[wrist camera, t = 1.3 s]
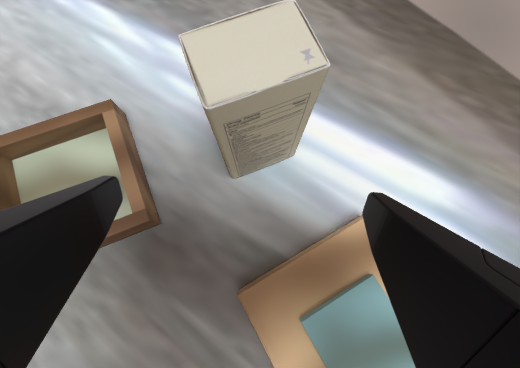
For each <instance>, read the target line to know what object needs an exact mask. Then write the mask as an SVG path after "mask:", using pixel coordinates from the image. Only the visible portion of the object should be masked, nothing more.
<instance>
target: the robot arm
mask: <svg viewBox="0 0 520 368" xmlns="http://www.w3.org/2000/svg"><path fill="white" fill-rule="evenodd" d="M122 201H123V195H122V191H121V187H120V183H119V180H118V178H117V177H116V176H107V175H104V176H101V177H98V178H95V179H92V180H89V181H86V182H83V183H80V184H77V185H74V186H72V187H69V188H66V189H63V190H60V191H57V192H54V193H51V194H48V195H45V196H42V197H40V198H37V199H34V200H31V201H28V202H25V203H22V204H19V205H16V206H13V207H10V208H8V209H5V210H2V211H0V368H26V367H27V366H28V364H29V362H30V361H31V359H32V357H33V356H34V354H35V352H36V351H37V349H38V348H39V346H40V344H41V343H42V341H43V339H44V338H45V336H46V334H47V333H48V331H49V330H50V328H51V326H52V325H53V323H54V321H55V320H56V318H57V316H58V315H59V313H60V312H61V310H62V308H63V307H64V305H65V303H66V302H67V300H68V298H69V297H70V295H71V294H72V292H73V290H74V289H75V287H76V285H77V284H78V282H79V280H80V279H81V277H82V276H83V274H84V272H85V271H86V269H87V267H88V266H89V264H90V262H91V261H92V259H93V258H94V256H95V254H96V253H97V251H98V249H99V248H100V246H101V244H102V243H103V241H104V239H105V238H106V236H107V234H108V232H109V230H110V227H111V225H112V223H113V221H114V219H115V217H116V214H117V212H118V210H119V208H120V206H121V204H122ZM363 220H364V224H365V228H366V232H367V236H368V240H369V244H370V248H371V252H372V255H373V257H374V260H375V263H376V265H377V268H378V271H379V273H380V276H381V279H382V281H383V284H384V286H385V289H386V292H387V294H388V297H389V299H390V302H391V305H392V307H393V310H394V313H395V315H396V318H397V320H398V323H399V326H400V328H401V331H402V334H403V336H404V339H405V341H406V344H407V347H408V349H409V352H410V355H411V357H412V360H413V362H414V365H415V368H520V268H518V267H516V266H514V265H512V264H511V263H509V262H507V261H505V260H503V259H501V258H499V257H498V256H496V255H494V254H492V253H490V252H488V251H487V250H485V249H481V248H480V247H479V246H477V245H476V244H474V243H472V242H470V241H468V240H467V239H465V238H463V237H461V236H459V235H457V234H456V233H454V232H452V231H450V230H448V229H447V228H445V227H443V226H441V225H439V224H438V223H436V222H434V221H432V220H430V219H428V218H427V217H425V216H423V215H421V214H419V213H418V212H416V211H414V210H412V209H410V208H408V207H407V206H405V205H403V204H401V203H399V202H398V201H396V200H394V199H392V198H390V197H389V196H387V195H385V194H383V193H376V192H371V193H370V194H369V195H368V197H367V200H366V203H365V206H364V209H363Z"/></svg>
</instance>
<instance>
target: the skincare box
mask: <svg viewBox="0 0 520 368" xmlns="http://www.w3.org/2000/svg"><path fill="white" fill-rule="evenodd" d="M179 41H180V44H181V47H182V50H183V53H184V56H185V59H186V62H187V65H188V68H189V71H190V74H191V77H192V80H193V82H194V85H195V88H196V90H197V93H198V96H199V98H200V101H201V103H202V106H203V108H204V110H205V113H206V115H207V118H208V120H209V123H210V125H211V128H212V130H213V133H214V135H215V138H216V140H217V143H218V145H219V148H220V150H221V153H222V155H223V158H224V161H225V163H226V165H227V168H228V170H229V173H230V175H231V177H232V178H238V177H240V176H243V175H246V174H249V173H252V172H254V171H257V170H260V169H262V168H265V167H267V166H270V165H272V164H275V163H277V162H280V161H282V160H284V159H287V158H289V157H292V156H293V155H294V154H295V152H296V149H297V147H298V144H299V142H300V139H301V137H302V134H303V132H304V129H305V127H306V124H307V122H308V119H309V117H310V114H311V112H312V109H313V107H314V104H315V102H316V99H317V97H318V94H319V92H320V89H321V87H322V85H323V82H324V80H325V77H326V75H327V72H328V70H329V67H330V62H329V60H328V59H327V57H326V55H325V53H324V51H323V49H322V47H321V45H320V43H319V41H318V39H317V37H316V36H315V34H314V32H313V30H312V28H311V26H310V24H309V23H308V21H307V19H306V17H305V15H304V14H303V12H302V10H301V9H300V8H299V6H298V4H297V2H296V1H295V0H284V1H280V2H277V3H273V4H269V5H266V6H263V7H260V8H256V9H253V10H250V11H247V12H244V13H241V14H238V15H235V16H232V17H229V18H226V19H223V20H220V21H217V22H214V23H211V24H208V25H205V26H202V27H199V28H197V29H194V30H191V31H188V32H185V33H182V34H180V35H179Z"/></svg>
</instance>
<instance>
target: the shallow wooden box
mask: <svg viewBox="0 0 520 368" xmlns="http://www.w3.org/2000/svg"><path fill="white" fill-rule="evenodd" d="M237 296H238V298H239V300H240V302H241V304H242V305H243V307H244V309H245V311H246V313H247V315H248V317H249V319H250V321H251V323H252V325H253V327H254V329H255V331H256V333H257V335H258V337H259V339H260V341H261V343H262V344H263V346H264V348H265V350H266V352H267V354H268V356H269V358H270V360H271V362H272V364H273V366H274V368H415V365H414V362H413V360H412V357H411V355H410V352H409V349H408V347H407V344H406V341H405V339H404V336H403V334H402V331H401V328H400V326H399V323H398V320H397V318H396V315H395V313H394V310H393V307H392V305H391V302H390V299H389V297H388V294H387V292H386V289H385V286H384V284H383V281H382V279H381V276H380V273H379V271H378V268H377V265H376V263H375V260H374V257H373V255H372V252H371V248H370V244H369V240H368V236H367V232H366V228H365V224H364V220H363V215H362V216H359V217H358V218H356V219H355V220H353V221H351V222H350V223H348V224H346V225H345V226H343V227H341V228H340V229H338V230H336V231H335V232H333V233H332V234H330V235H328V236H327V237H325V238H323V239H322V240H320V241H318V242H317V243H315V244H313V245H312V246H310V247H308V248H307V249H305V250H304V251H302V252H300V253H299V254H297V255H295V256H294V257H292V258H290V259H289V260H287V261H285V262H284V263H282V264H281V265H279V266H277V267H276V268H274V269H272V270H271V271H269V272H267V273H266V274H264V275H262V276H261V277H259V278H258V279H256V280H254V281H253V282H251V283H249V284H248V285H246V286H244V287H243V288H241V289H239V292H238V295H237Z"/></svg>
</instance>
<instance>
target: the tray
mask: <svg viewBox="0 0 520 368" xmlns="http://www.w3.org/2000/svg"><path fill="white" fill-rule="evenodd" d="M104 175H107V176H116V177H117V178H118V180H119V183H120V187H121V191H122V195H123V201H122V204H121V206H120V208H119V210H118V212H117V214H116V217H115V219H114V221H113V223H112V225H111V227H110V230H109V232H108V234H107V236H106V238H105V239H104V241H103V243H102V244H101V246H100V248H101V247H104V246H106V245H109V244H111V243H114V242H116V241H119V240H121V239H124V238H126V237H129V236H131V235H134V234H136V233H139V232H141V231H144V230H146V229H149V228H151V227H154V226H156V225H159V224H161V222H160V219H159V216H158V213H157V210H156V207H155V204H154V201H153V198H152V195H151V192H150V189H149V186H148V183H147V180H146V176H145V173H144V170H143V167H142V164H141V161H140V158H139V155H138V152H137V149H136V146H135V143H134V140H133V137H132V134H131V130H130V127H129V124H128V121H127V118H126V115H125V113H124V112H123V111H122V110H121V109H120V108H119V107H118V106H117V105H116V104H115V103H114V102H113V101H112V100H111V99H110V100H107V101H104V102H101V103H98V104H95V105H91V106H88V107H85V108H82V109H79V110H76V111H73V112H70V113H67V114H64V115H61V116H58V117H55V118H52V119H49V120H46V121H43V122H40V123H37V124H34V125H31V126H28V127H25V128H22V129H19V130H16V131H13V132H10V133H7V134H4V135H1V136H0V211H2V210H5V209H8V208H10V207H13V206H16V205H19V204H22V203H25V202H28V201H31V200H34V199H37V198H40V197H42V196H45V195H48V194H51V193H54V192H57V191H60V190H63V189H66V188H69V187H72V186H74V185H77V184H80V183H83V182H86V181H89V180H92V179H95V178H98V177H101V176H104Z"/></svg>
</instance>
